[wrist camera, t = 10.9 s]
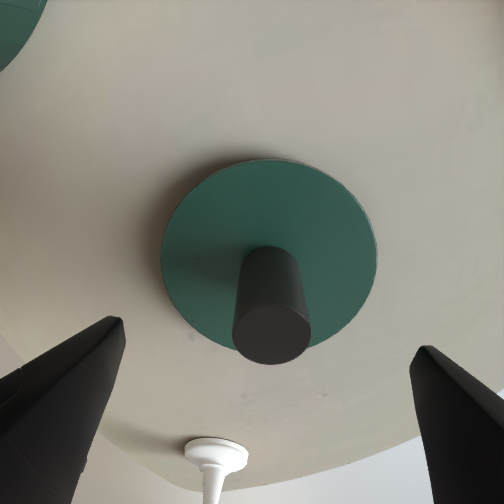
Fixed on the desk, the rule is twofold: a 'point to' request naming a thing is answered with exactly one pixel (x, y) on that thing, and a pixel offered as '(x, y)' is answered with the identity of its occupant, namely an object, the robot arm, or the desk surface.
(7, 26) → the pot
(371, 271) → the pot lid
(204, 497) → the chess piece
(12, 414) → the robot arm
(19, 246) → the desk surface
